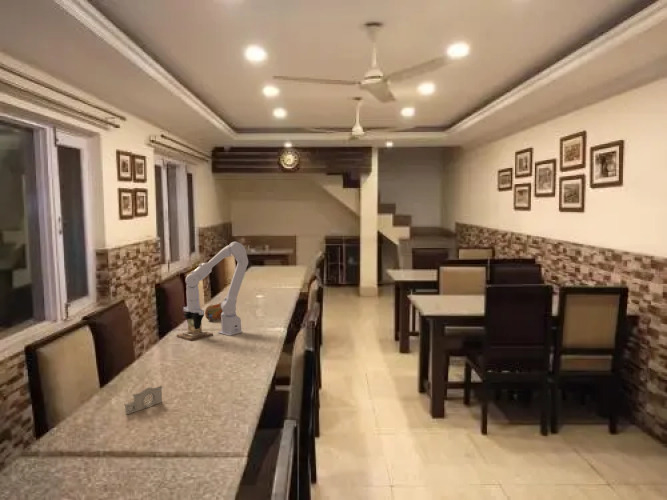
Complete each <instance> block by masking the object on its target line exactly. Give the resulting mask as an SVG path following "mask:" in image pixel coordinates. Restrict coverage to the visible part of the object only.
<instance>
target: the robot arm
mask: <svg viewBox="0 0 667 500" xmlns="http://www.w3.org/2000/svg"><path fill="white" fill-rule="evenodd" d="M232 256H233V257H234V259H235V260H236V262H237V264H236V267H235V270H234V272H233V276H232V279H231V282H230V285H229V288H228V289H227V290H228V291H227V294H226V295H225V298H224V299H223V300H222V302H220V303H221V309H222V310H223V312H222V313H221V319H220V320H221V323H220V324H221V330H220V331H218V334H221V335H226V336H234V335H238V334H241V333H243V332H244V331H242V319H241V317H239V316H238V314H237V312H236V311H237V302H238V301H237V298H238V296H239V292H240V289H241V286H242V283H243V280H244V277H245V273H246V271H247V267H248V266H249V259H248V254H247V249H246V248H245V247H244V245H243V244H242V243H241V242H238V241H232V242H230V243H229V245H228V244H227V245H226V246H224V247H223V248H222V249H221V250H220V251H218V252H217V253H216V254H215V255H214V256H213V257H212V258H210V260H209V261H208V262H202V263H199V264H198V267H196V268H195V269H194V270H192V271H190V274H188V275H186V277H185V283H186V287H185V288H186V291H185V293H186V306H183V312H184V313H183V315H184V317H185V319H186V321H187V323H188V319H191V318H193V320H194V326H195V329H199V328H200V325H201V323H202V321H203V318H204V316H205V310H204V309H202V308H201V306H200V304H201V302H200V289H199V284H200V281H203V280H204V279H205V278H206V277H207V276H208V275H210V273H212V272H213V271H212V270H213V268H214V267H215V266H216V265H217V264H218V263H220V262H221V261H222V260H223V259H225V258H228V257H229V258H230V257H232Z"/></svg>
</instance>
